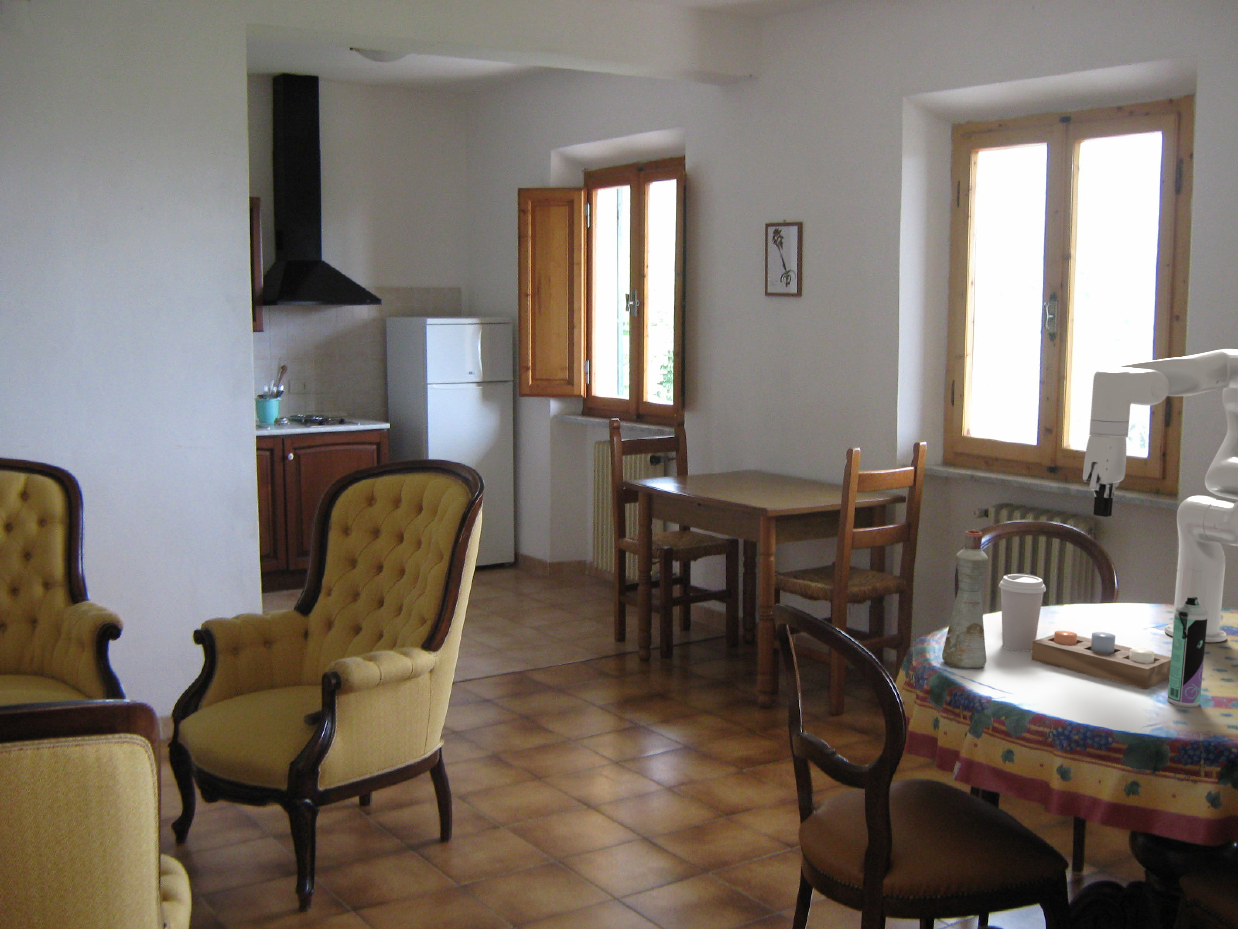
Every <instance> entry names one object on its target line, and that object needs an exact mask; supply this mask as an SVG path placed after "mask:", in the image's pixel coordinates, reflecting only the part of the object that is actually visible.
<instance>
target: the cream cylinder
mask: <svg viewBox="0 0 1238 929" xmlns="http://www.w3.org/2000/svg"><path fill="white" fill-rule="evenodd" d="M1131 648H1132V649H1130V656H1129V660H1132V661H1137V662H1141V663H1145V664H1151V663H1153V662H1154V653H1155V651H1153V650H1151V649H1147V648H1142V647H1131Z"/></svg>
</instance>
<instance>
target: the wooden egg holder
mask: <svg viewBox="0 0 1238 929" xmlns="http://www.w3.org/2000/svg"><path fill="white" fill-rule="evenodd" d="M1091 640H1092V638H1090V637H1086V636H1081V635H1077V644H1075V645H1072V646H1069V645H1065V644H1061V643H1057V642H1054V634H1051V635H1048V636H1044V637H1042V638H1039V639H1036V640H1035V641H1033V642H1032V650H1031V659H1030V660H1031V661H1033V662H1036V663H1041V664H1044V665H1049V666H1052V667H1057V668H1060V669H1064V670H1067V671H1068V670H1069V671H1072V672H1076V673H1081V674H1085V675H1088V676H1092V677H1095V678H1100V679H1104V680H1108V681H1112V682H1115V683H1119V684H1124V685H1127V686H1132V687H1135V688H1139V689H1143V690H1147V689H1150V688H1152V687H1155V686H1157V685H1160V684H1162V683H1164V682H1167V681H1169V676H1170V664H1171V656H1169V655H1163V654H1159V653H1155V652H1154V662H1153V663H1151V664H1145V663H1141V662H1137V661H1132V660H1129V656H1130V649H1132V648H1133V647H1129V646H1125V645H1121V644H1116V643H1115V647H1114V653H1113V654H1110V655H1107V654H1103V653H1099V652H1095V651H1091Z"/></svg>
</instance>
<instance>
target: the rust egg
mask: <svg viewBox="0 0 1238 929" xmlns="http://www.w3.org/2000/svg"><path fill="white" fill-rule="evenodd" d="M1053 635H1054V642H1057V643H1061V644H1065V645H1069V646H1072V645H1075V644H1077V636H1078V634H1077V633H1076V632H1073V631H1070V630H1069V631H1068V630H1056V631H1054V634H1053Z"/></svg>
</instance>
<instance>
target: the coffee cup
mask: <svg viewBox="0 0 1238 929" xmlns="http://www.w3.org/2000/svg"><path fill="white" fill-rule="evenodd" d="M1019 574H1020V573H1014V574H1012V573H1011V574H1006V575H1003V578H1002V580H1001V581H1000V582H999V584H998V587H999V589H1000V593H1001V594H1000V597H1001V598H1000V599H1001V600H1000V601H1001V602H1000V603H1001V634H1002V636H1001V638H1002V641H1001V642H1002V647H1003V648H1005V649H1007V650H1011V651H1017V652H1019V651H1020V652H1029V651H1030V652H1032V642H1033V641H1035V640H1037V633H1038V626H1039V621H1040V616H1041V607H1042V602H1043V597H1044V593H1045V592H1046V591H1047V588H1046V585H1045V584H1044V581H1043V579H1042V578H1040V577H1038V576H1036V577H1034V576H1035V575H1034V576H1029V575H1019Z"/></svg>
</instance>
